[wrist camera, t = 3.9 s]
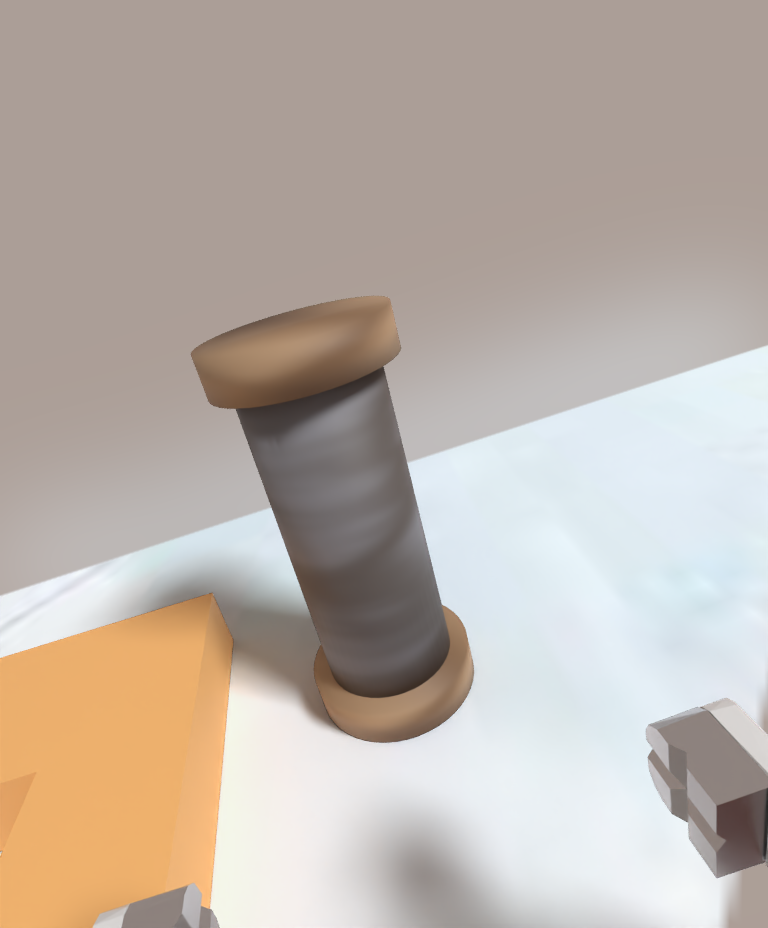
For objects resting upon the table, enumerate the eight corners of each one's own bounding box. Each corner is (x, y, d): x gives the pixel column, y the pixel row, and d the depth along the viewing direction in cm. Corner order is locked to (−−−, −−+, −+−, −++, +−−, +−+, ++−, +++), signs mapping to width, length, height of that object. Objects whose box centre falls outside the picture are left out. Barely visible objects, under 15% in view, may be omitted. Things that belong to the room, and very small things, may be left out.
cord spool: (413, 770, 20) (281, 356, 14) (293, 703, 24) (152, 360, 18) (502, 649, 24) (430, 288, 18) (386, 609, 28) (297, 304, 22)
